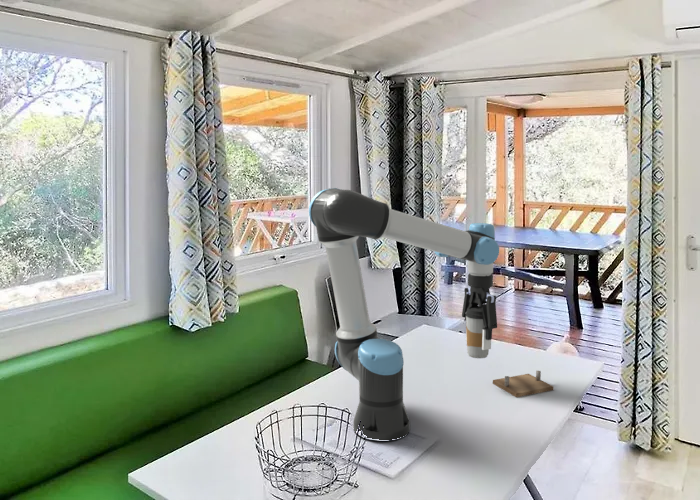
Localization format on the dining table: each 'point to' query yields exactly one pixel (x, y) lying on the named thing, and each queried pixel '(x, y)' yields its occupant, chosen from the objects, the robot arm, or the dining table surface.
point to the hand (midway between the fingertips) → (478, 344)
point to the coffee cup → (475, 332)
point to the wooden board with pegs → (523, 384)
